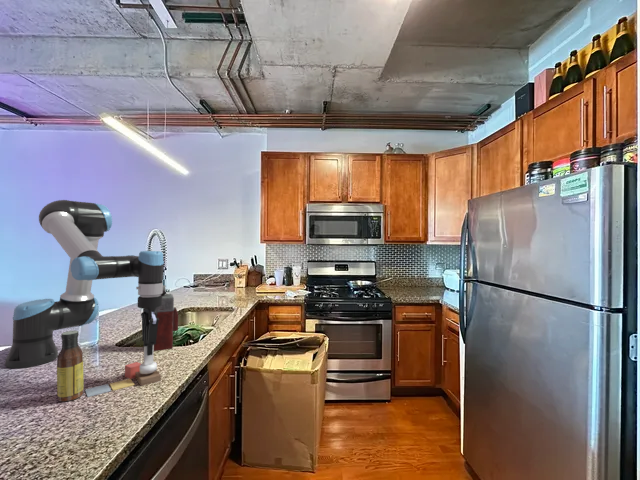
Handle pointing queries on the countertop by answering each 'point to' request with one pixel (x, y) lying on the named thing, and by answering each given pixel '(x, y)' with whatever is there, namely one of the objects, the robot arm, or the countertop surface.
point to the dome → (148, 368)
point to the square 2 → (121, 384)
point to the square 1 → (97, 390)
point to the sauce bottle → (70, 368)
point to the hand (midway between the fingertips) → (148, 363)
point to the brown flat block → (147, 378)
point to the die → (132, 370)
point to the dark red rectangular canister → (166, 322)
